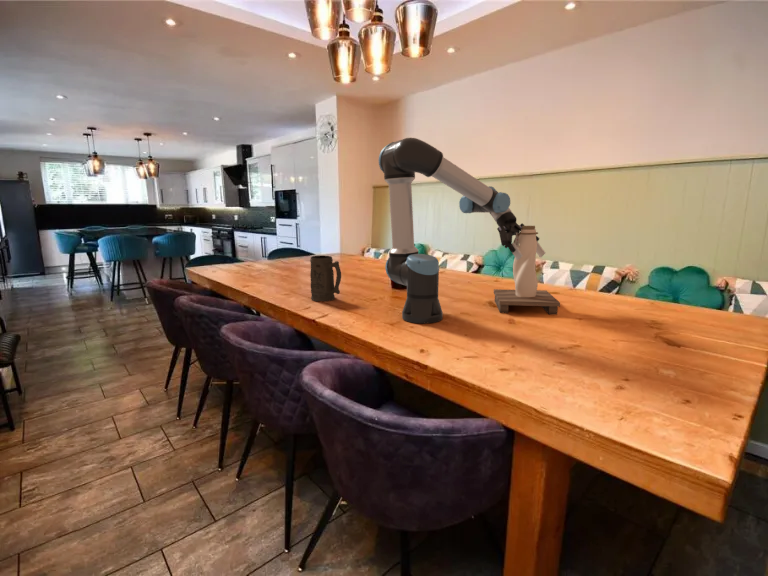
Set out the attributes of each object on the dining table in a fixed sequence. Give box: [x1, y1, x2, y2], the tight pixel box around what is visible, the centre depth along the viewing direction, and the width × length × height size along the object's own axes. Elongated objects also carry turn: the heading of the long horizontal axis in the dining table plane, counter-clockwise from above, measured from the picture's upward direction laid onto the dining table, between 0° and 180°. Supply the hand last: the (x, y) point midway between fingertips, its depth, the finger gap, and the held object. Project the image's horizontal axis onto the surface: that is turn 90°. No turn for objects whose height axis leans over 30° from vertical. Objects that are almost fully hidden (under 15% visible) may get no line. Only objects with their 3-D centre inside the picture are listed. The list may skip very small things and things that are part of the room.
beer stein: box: [309, 255, 342, 302], centre depth 175 cm, size 15×11×20 cm
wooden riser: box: [493, 288, 561, 316], centre depth 159 cm, size 22×22×5 cm
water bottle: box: [512, 225, 539, 297], centre depth 155 cm, size 10×9×28 cm
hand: (531, 256), depth 153 cm, fingers open, 13 cm apart
